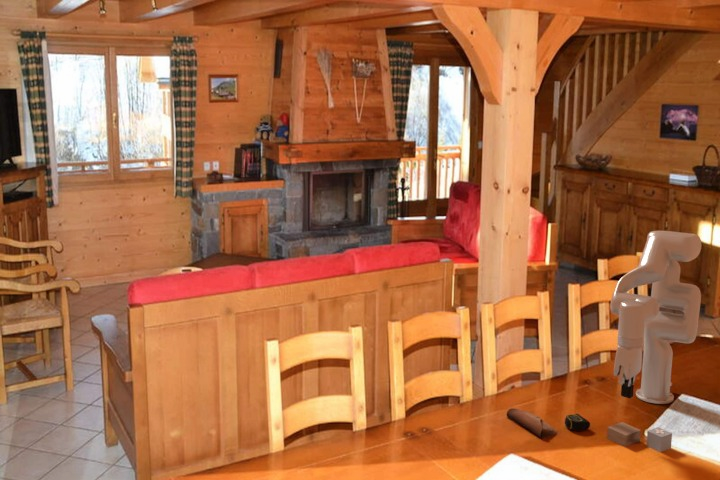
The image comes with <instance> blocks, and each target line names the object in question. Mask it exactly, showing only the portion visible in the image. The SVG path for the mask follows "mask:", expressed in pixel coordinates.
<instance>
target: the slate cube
mask: <svg viewBox="0 0 720 480" xmlns="http://www.w3.org/2000/svg"><path fill="white" fill-rule="evenodd" d="M646 435H647V436H646V447H648V448H650V449H653V450H655V451H657V452H659V453H662V452H664V451H669V449H671V448H672V441H673V432H670V431H668V430H665V429H664V428H661V427H660V426H659V427H655V428H652V429H649V430H647V434H646Z"/></svg>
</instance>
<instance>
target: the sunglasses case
mask: <svg viewBox="0 0 720 480" xmlns="http://www.w3.org/2000/svg"><path fill="white" fill-rule="evenodd" d="M506 418H508V419H510V420H512V421H514V422H516V423H518V424H519V425H521V426H523V427H524V428H526V429H527V430H529V431H530V432H531V433H533V434H535V435H536V436H537V437H539V438H540V439H542V438H543V439H545V438H546V439H547V438H549V436H550V437H552V436H553V435H554V436H556V435H559V434H560V433H559V432H558V431H557V430H556V429H555V428H554V426H553V427H552V426H551V425H550V424H549V423H547V422H546V421H544V420H543V419H542V418H541V417H540V416H538V415H536V414H534V413H531V412H529V411H527V410H523V409H519V408H513V407H511V408H508V410H507V411H506Z"/></svg>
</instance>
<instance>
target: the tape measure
mask: <svg viewBox="0 0 720 480" xmlns="http://www.w3.org/2000/svg"><path fill="white" fill-rule="evenodd" d="M564 424H565V427H566V428H567V429H570V430H572V431H579V432H581V431H584V430H587V429H589V428H591V422H590V421H589V420H588V419H586V418H585V417H584V416H581V415H580V414H579V413H574V414H568V415H566V416H565V418H564Z"/></svg>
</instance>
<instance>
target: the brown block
mask: <svg viewBox="0 0 720 480" xmlns="http://www.w3.org/2000/svg"><path fill="white" fill-rule="evenodd" d="M606 428H607V429H606V439H607V440H610V441H612V442H614V443H615V444H618V445H620V446H623V447H624V448H626V447H629V446H632V445H633V444H636V443H639V442H641V431H642V429H640V428H637V427H634V426H633V425H630V424H628V423H625V422H623V421H620V422H618V423H615V424H612V425H609V426H607V427H606Z"/></svg>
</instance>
